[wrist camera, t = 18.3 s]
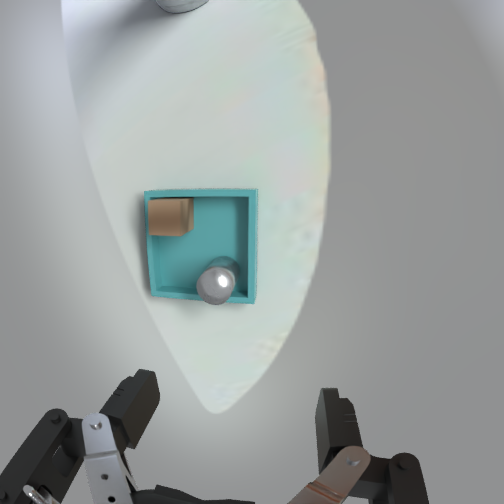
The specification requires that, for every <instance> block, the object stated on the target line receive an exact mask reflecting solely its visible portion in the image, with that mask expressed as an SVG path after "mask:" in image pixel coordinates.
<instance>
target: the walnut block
mask: <svg viewBox="0 0 504 504" xmlns="http://www.w3.org/2000/svg"><path fill="white" fill-rule="evenodd" d="M148 223H149V235H160V236H182V235H184V234H185V233H187V232H189V231H191V230H192V229H194V197H165V198H159V199H154V200H149V201H148Z"/></svg>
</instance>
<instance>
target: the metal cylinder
mask: <svg viewBox="0 0 504 504" xmlns="http://www.w3.org/2000/svg"><path fill="white" fill-rule="evenodd" d="M239 275H240V268H239V265H238V263H237V262H236V261H235V260H234V259H233V258H231V257H228V256H220V257H217V258H215V259H214V260H213V261H212V263H211V264H210V265H209V266H208V267H207V269H206V270H205V271H204V272H203V274H202V275H201V276H200V277H199V279H198V281H197V285H196V287H197V292H198V294H199V296H200V297H201V298H202V299H203V300H204V301H205V302H207V303H209V304H213V305H219V304H222V303H224V302H226V301H227V300H228V299H229V297H230V295H231V293H232V291H233V289H234V287H235V284H236V282H237V280H238V278H239Z"/></svg>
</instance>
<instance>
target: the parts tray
mask: <svg viewBox="0 0 504 504" xmlns="http://www.w3.org/2000/svg"><path fill="white" fill-rule="evenodd" d="M165 197H194V229H192V230H191V231H189V232H187V233H185V234H184V235H182V236H160V235H149V223H148V201H149V200H154V199H159V198H165ZM144 203H145V226H146V242H147V255H148V267H149V277H150V287H151V295H152V296H157V297H167V298H178V299H190V300H202V301H204V300H203V299H202V298H201V297H200V296H199V294H198V292H197V287H196V285H197V281H198V279H199V277H200V276H201V275H202V274H203V272H204V271H205V270H206V269H207V267H208V266H209V265H210V264H211V263H212V261H213V260H214V259H215V258H217V257H220V256H228V257H231V258H233V259H234V260H235V261H236V262H237V263H238V265H239V268H240V275H239V278H238V280H237V282H236V284H235V287H234V289H233V291H232V293H231V295H230V297H229V299H228V300H227V301H226V302H230V303H246V304H254V303H255V299H256V281H257V220H258V189H172V190H151V191H144Z"/></svg>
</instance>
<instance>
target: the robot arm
mask: <svg viewBox="0 0 504 504" xmlns="http://www.w3.org/2000/svg"><path fill="white" fill-rule="evenodd" d="M155 1H156V2H157V3H158V4H159V6H160V7H161V8H162V9H163V10H165V11H167V12H171V13H181V12H186V11H190V10H193V9H196V8H198V7H199V6H201V5H203V4H204V3H206V2H207V1H208V0H155ZM159 401H160V392H159V388H158V383H157V379H156V375H155V372H153V371H149V370H143V369H139V370H138V371H137V372H136V374H135V375H134V377H131V376H129V377H128V378H126V379H124V380H123V381H122V382H121V383H120V384H119V386H118V387H117V389H116V390H115V391H114V392H113V395H111V397H110V398H109V399H108V401H107V402H106V403H105V405H104V406H103V408H102V409H101V410H100V412H99V413H92V414H89V415H87V416H86V417H85V418H84V419H77V418H69V417H68V415H67V413H66V412H65V411H64V410H61V409H52V410H49V411H48V412H47V413H46V414H45V415H44V417H43V418H42V419H41V420H40V421H39V423H38V424H37V425H36V427H35V428H34V429H33V430H32V432H31V433H30V435H29V436H28V437H27V439H26V440H25V441H24V443H23V444H22V445H21V447H20V448H19V449H18V451H17V452H16V453H15V455H14V456H13V458H12V459H11V460H10V462H9V463H8V465H7V466H6V468H5V469H4V470H3V472H2V474H1V475H0V504H61V502H62V500H63V498H64V496H65V495H66V493H67V491H68V489H69V487H70V485H71V483H72V481H73V480H74V477H75V476H76V474H77V472H78V470H79V468H80V467H81V465H82V463H83V461H84V463H85V469H86V473H87V477H88V482H89V486H90V490H91V494H92V498H93V501H94V504H255V502H250V501H240V500H231V499H226V500H201V499H198V498H196V497H193V496H191V495H189V494H187V493H184V492H182V491H180V490H176V489H172V488H168V487H164V486H161V485H156V487H155V490H154V489H153V490H152V489H150V490H140V491H139V489H138V487H137V485H136V483H135V480H134V478H133V475H132V472H131V469H130V467H129V464H128V461H127V458H126V455H125V452H124V451H125V449H126V447H129V448H132V449H135V448H136V446H137V444H138V442H139V440H140V438H141V436H142V434H143V433H144V431H145V429H146V427H147V425H148V423H149V421H150V419H151V417H152V415H153V414H154V412H155V410H156V408H157V406H158V404H159ZM315 423H316V436H317V448H318V449H317V450H318V466H319V476H318V477H317V478H316V479H315V480H314V481H313V482H312V483H311V482H310V483H308V484H307V485H306V486H305V487H304V488H303V489H302V490H301V491H300V492H299V493H298V494H297V495H296V496H295V497H294V498H293V499H292V500H291V501H290V502H289V503H287V504H342V503H343V502H344V501H345V500H346V498H347V497H348V496H352V497H359V498H366V499H368V500H369V504H429V501H428V496H427V492H426V487H425V483H424V479H423V475H422V471H421V467H420V463H419V460H418V459H417V458H416V457H415V456H414V455H412V454H410V453H399V454H396V455H395V456H393V457H392V458H391V459H386V458H379V457H375V456H372V455H370V454H369V453H368V452H367V450H365V449H364V448H363V445H362V441H361V436H360V432H359V427H358V423H357V418H356V415H355V410H354V406H353V404H352V403H351V402H350V401H349V400H348V398H339V393H338V389H337V388H322V389H321V391H320V395H319V400H318V404H317V408H316V415H315ZM59 446H60V447H59ZM58 447H59V448H58ZM57 449H58V450H57ZM56 450H57V451H56ZM55 452H56V453H55ZM53 455H54V456H53ZM52 457H53V458H52Z"/></svg>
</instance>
